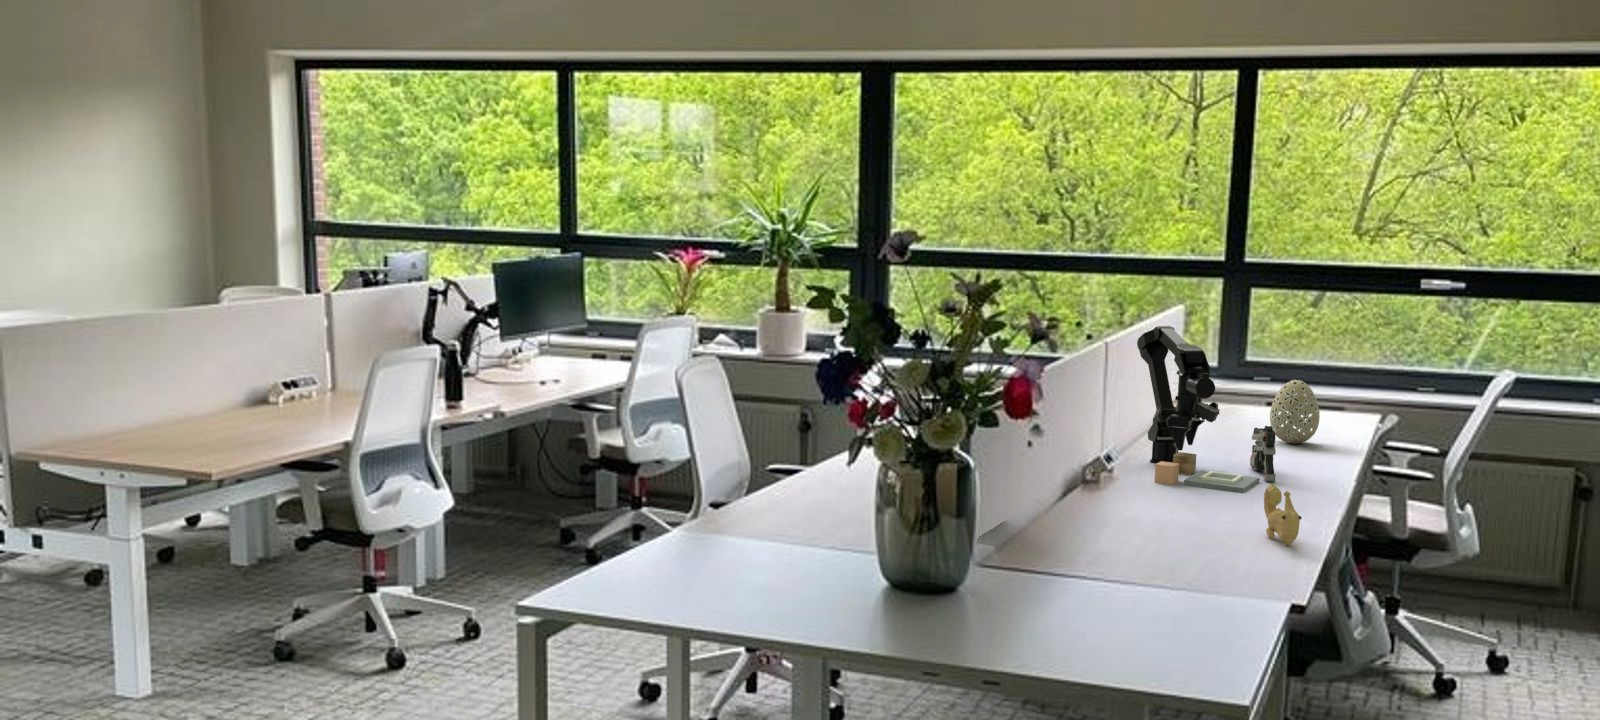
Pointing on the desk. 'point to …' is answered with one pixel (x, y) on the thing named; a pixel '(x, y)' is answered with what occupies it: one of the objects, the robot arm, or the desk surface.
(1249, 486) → the blueprint plate
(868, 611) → the desk surface
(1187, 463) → the walnut block
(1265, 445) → the toy blaster
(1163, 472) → the terracotta block
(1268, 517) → the toy
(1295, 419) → the ornament
